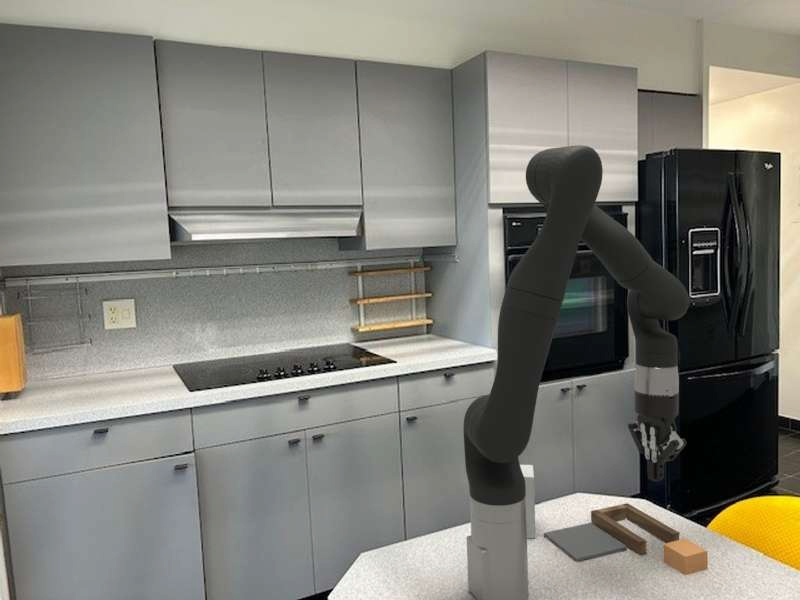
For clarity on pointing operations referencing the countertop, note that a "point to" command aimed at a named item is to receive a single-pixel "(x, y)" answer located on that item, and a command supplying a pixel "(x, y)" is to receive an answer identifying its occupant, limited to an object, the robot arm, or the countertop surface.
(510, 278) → the robot arm
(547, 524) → the countertop surface
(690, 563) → the block
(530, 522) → the supplement box
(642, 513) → the cubby
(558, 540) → the mat
